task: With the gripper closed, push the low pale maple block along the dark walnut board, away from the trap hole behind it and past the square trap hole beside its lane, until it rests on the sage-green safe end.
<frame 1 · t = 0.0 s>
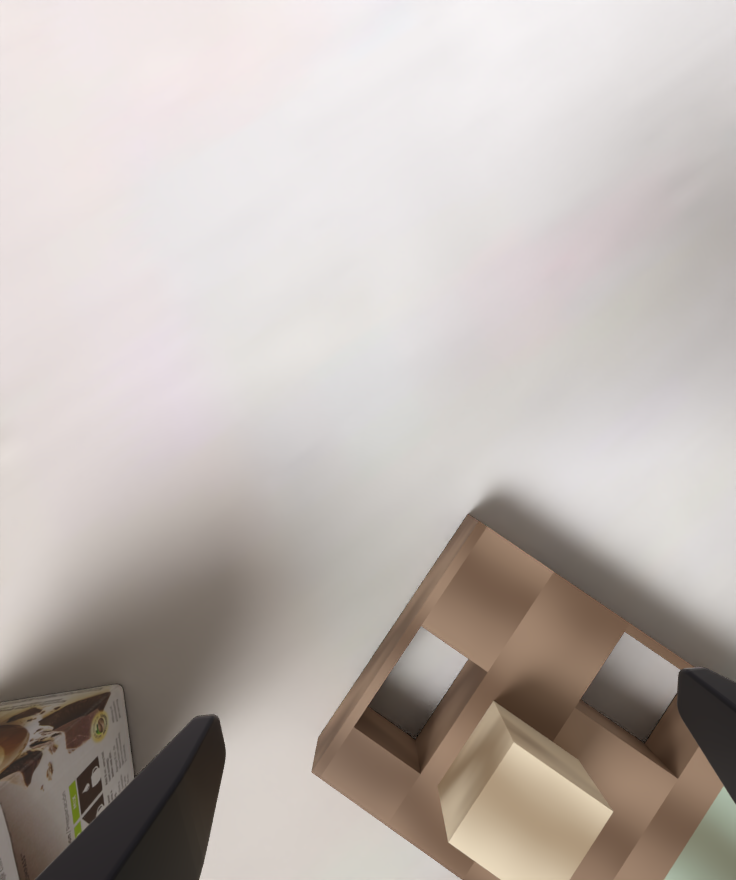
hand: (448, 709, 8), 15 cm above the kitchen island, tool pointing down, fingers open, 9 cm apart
block: (507, 772, 21), point 2 cm above the kitchen island, touching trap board
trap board: (581, 755, 23), on the kitchen island
coffee box: (54, 745, 24), on the kitchen island
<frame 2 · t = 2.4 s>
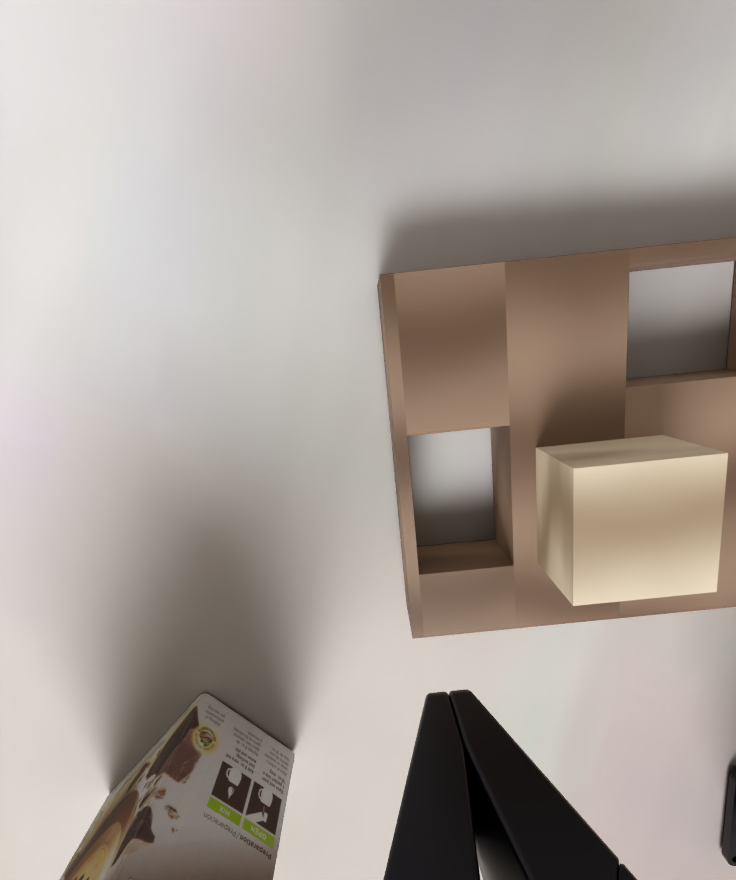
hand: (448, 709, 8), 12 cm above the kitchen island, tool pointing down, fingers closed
block: (598, 501, 17), point 2 cm above the kitchen island, touching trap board
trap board: (667, 430, 19), on the kitchen island
coffee box: (201, 769, 23), on the kitchen island
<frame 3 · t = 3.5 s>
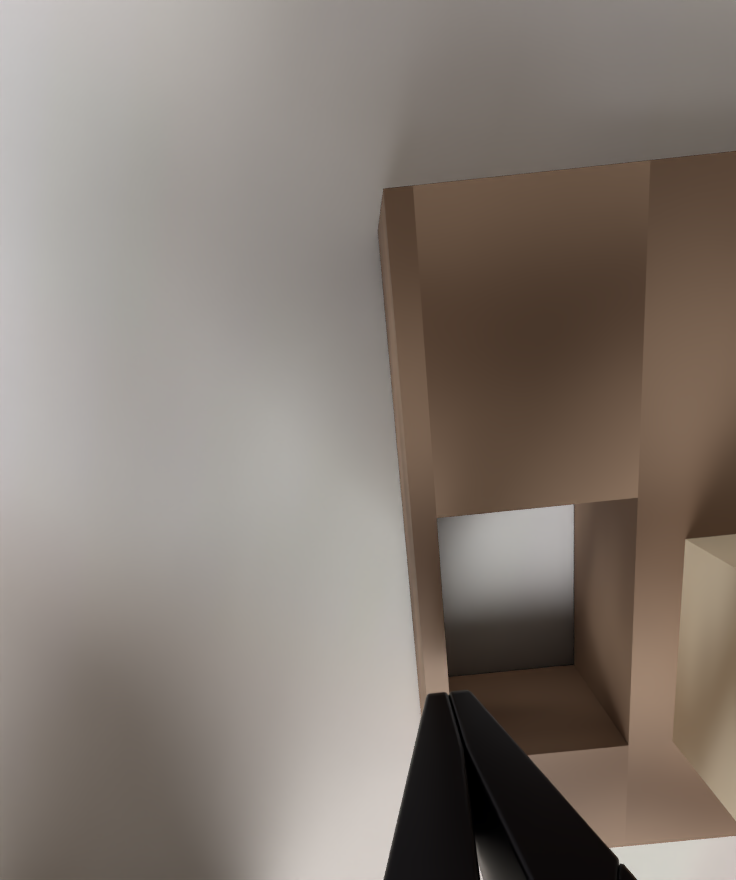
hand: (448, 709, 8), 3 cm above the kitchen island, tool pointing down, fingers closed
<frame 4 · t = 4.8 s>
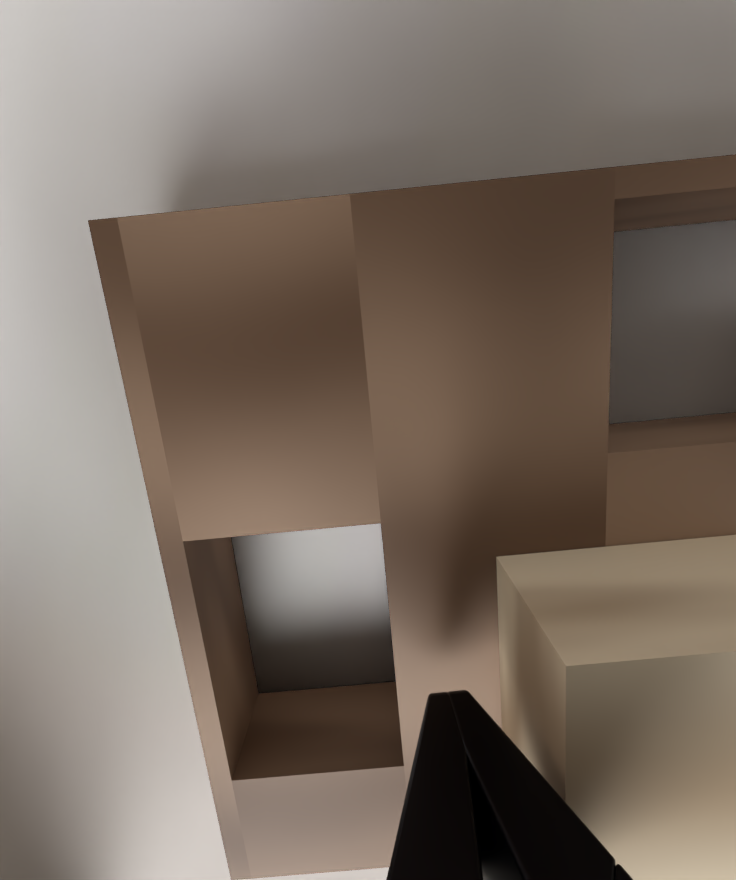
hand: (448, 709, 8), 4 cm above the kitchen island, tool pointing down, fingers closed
block: (615, 652, 9), point 3 cm above the kitchen island, touching gripper
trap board: (684, 509, 11), on the kitchen island
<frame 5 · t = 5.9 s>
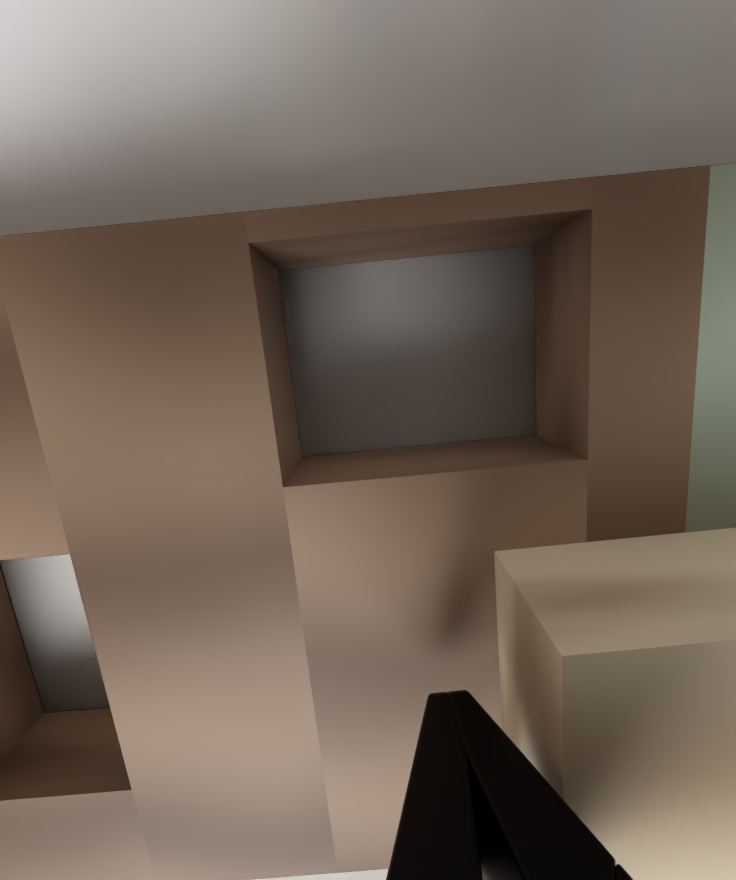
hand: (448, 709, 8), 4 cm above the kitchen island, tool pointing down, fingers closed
block: (614, 646, 9), point 3 cm above the kitchen island, touching gripper, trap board
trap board: (443, 534, 11), on the kitchen island
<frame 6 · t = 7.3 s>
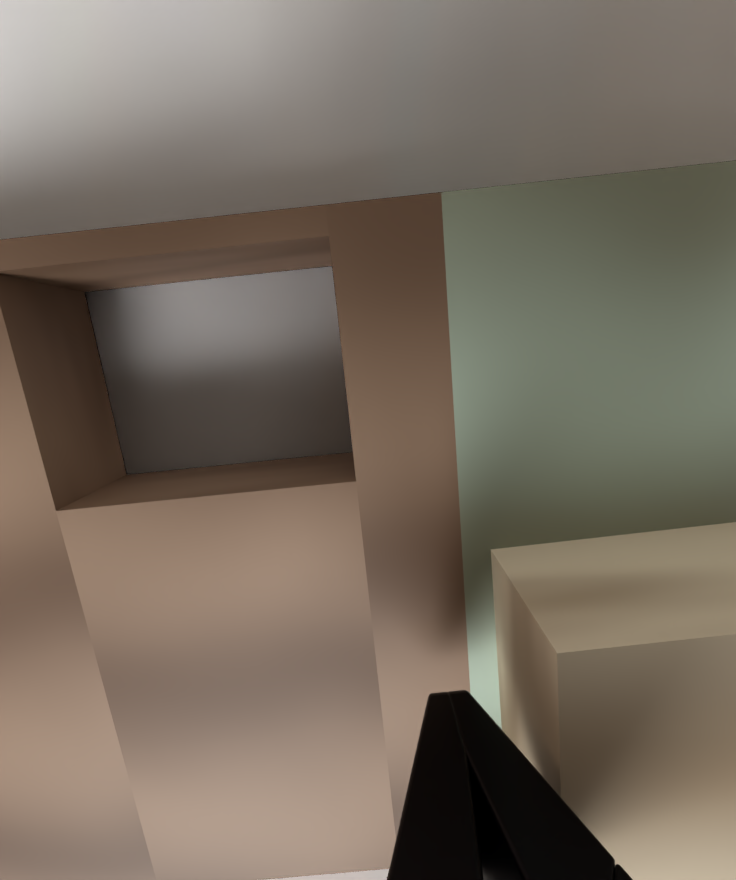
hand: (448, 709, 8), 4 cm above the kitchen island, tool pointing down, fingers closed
block: (612, 642, 9), point 2 cm above the kitchen island, touching gripper, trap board
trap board: (275, 550, 11), on the kitchen island
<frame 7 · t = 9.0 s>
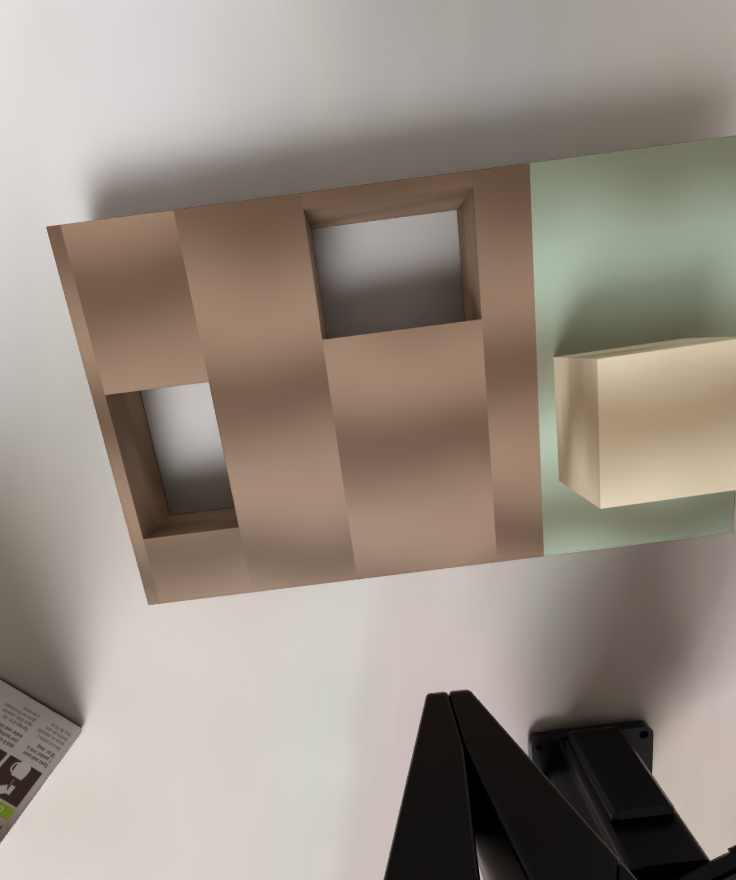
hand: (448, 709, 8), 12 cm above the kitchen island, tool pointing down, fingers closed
block: (619, 412, 16), point 2 cm above the kitchen island, touching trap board
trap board: (413, 388, 18), on the kitchen island
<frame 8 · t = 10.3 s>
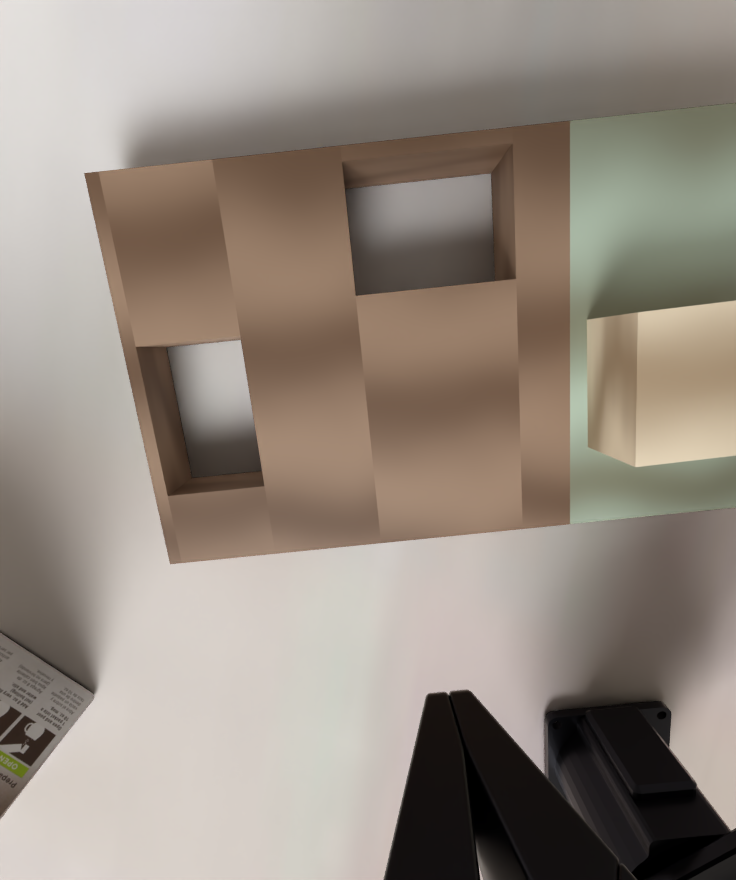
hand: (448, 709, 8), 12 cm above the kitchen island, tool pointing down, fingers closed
block: (651, 377, 16), point 2 cm above the kitchen island, touching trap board
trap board: (441, 353, 18), on the kitchen island
coffee box: (5, 713, 22), on the kitchen island
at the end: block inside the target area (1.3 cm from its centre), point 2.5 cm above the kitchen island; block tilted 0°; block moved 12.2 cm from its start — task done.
